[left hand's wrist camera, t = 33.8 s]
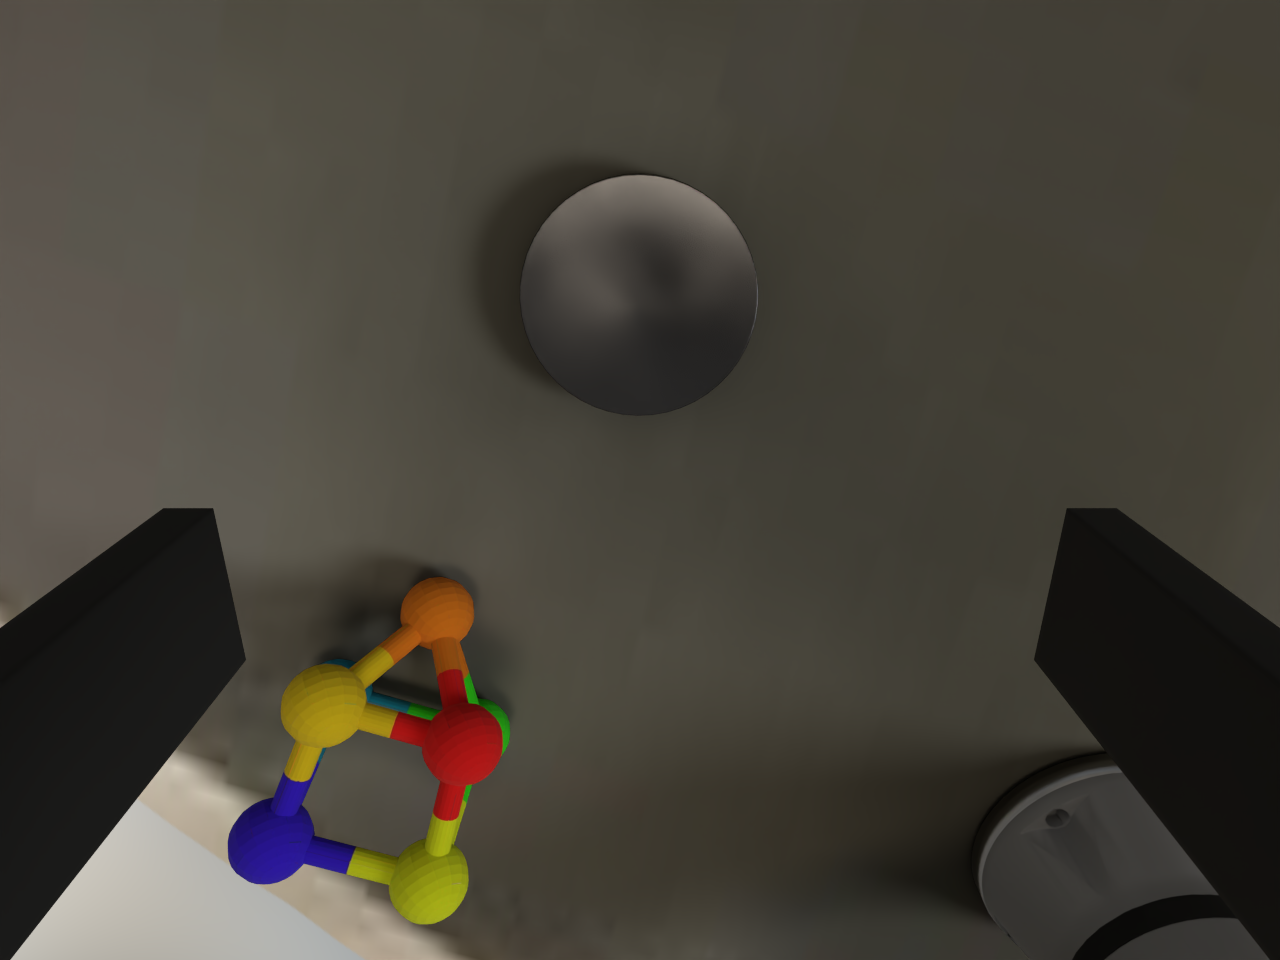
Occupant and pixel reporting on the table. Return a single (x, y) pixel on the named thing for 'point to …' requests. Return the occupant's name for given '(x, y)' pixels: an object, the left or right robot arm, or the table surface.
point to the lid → (638, 294)
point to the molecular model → (450, 739)
